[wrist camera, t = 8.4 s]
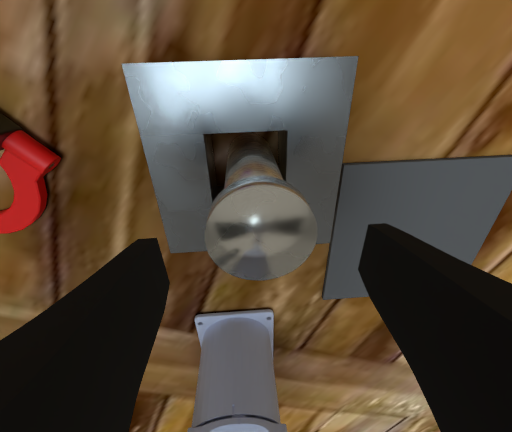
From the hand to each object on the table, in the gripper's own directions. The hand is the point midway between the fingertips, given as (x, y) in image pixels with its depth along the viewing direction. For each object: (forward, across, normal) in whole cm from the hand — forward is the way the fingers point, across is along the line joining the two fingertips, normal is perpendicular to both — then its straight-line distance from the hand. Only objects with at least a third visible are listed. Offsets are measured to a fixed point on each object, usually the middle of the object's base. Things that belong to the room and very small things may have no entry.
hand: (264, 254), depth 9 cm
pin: (+10, 0, 0) cm, 10 cm away
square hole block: (+10, 0, 0) cm, 10 cm away
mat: (+10, -14, +8) cm, 19 cm away
